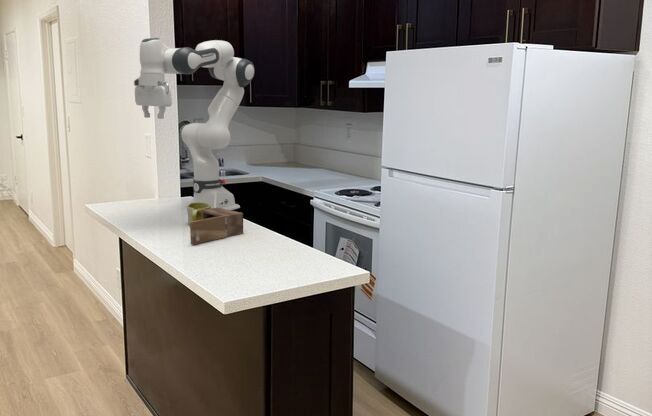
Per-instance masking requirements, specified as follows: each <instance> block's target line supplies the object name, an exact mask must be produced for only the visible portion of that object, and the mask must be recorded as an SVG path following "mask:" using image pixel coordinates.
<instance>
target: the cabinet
mask: <svg viewBox="0 0 652 416" xmlns="http://www.w3.org/2000/svg"><path fill="white" fill-rule="evenodd" d="M218 216H226V217H227V224H226V229H227V236H226V237H225V238H230V237H234V236H239V235H242V234H244V213H243V212H241V211H240V212H239V211H236V210H227V209H223V208H212V209H206V210H202V220H203V219H208V218H213V217H218Z"/></svg>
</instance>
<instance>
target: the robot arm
mask: <svg viewBox="0 0 652 416" xmlns="http://www.w3.org/2000/svg"><path fill="white" fill-rule="evenodd" d="M139 64H140V72H139V73H140V75H139V76H138V77H137V78H136V79H135V80H133V85H134V103H135V104H136V106H141V111H143V117H144V118H149V119H150V118H151V113H150V112H149V107H158V110H159V111H158V113H157V119H164V117H165V116H164V114H165V112H166V108H167V107H171V106H172V103H173V102H172V101H173V99H172V91H171V88H170V86H169V84H168V82H167V81H165V74H168V75H171V74H173V75H174V74H175V75H176V74H177V75H180V74H181V75H182V74H183V75H191V74H192V75H193V74H194V73H195V72H196V71H197V70H198V69H200V68H205V69H206V68H208V72H209V74H210V76H211V77H212V78H213V79H216V80H218V81H223V84H222V87H221V88H220V89H219V90H218V91H217V93H216V95H215V96H214V98H213V99H212V101H211V103H210V104H209V106H208V108H207V114H208V115H209V117H208V120H207V121H206V122H205V123H203V122H192V123H187V124H186V125H184V126H183V128H182V130H181V134H180V135H181V140H182V141H183V143H184V144H185V145H186V146H187V148H188V150H189V153H190V155H191V158H192V165H193V180H192V181H193V182H192V184H193V185H192V189H193V201H192V203H195V202H203V203H208V204H209V205H210V206H211V209H212V208H223V209H227V210H232V211H235V210H238V209H240V208H241V206H240V205H239V204H238V203H236V201H235V200H236V199H235V196H234V194H233V193H232V192H230V191H229V190H228V189H226V188H225V187H224V186H223V185H227V183H228V181H227V179H225V178H224V179H221V178H220V163H219V160H218V159H217V158H216V157H215V155H214V154H213V151H212V150H219V149H220V150H221V149H224V148H226V147H228V145H229V144H230V141H231V132H230V130H229V125H230V122H231V121H232V118H233V116H234V114H235V113H236V111H237V109H238V108H239V106H240V104H241V102H242V100H243V97H244V94H245V89H244V88H245V87H247V86H248V85H249V84H250V83H251V82H252V80H253V78H254V77H255V72H256V71H255V65H254V64H253V62H252V61H251V60H248V59H246V58H241V57H235V50H234V48H233V46H232V44H231V43H230V42H228V41H225V40H222V39H221V40H220V39H219V40H218V39H214V40H207V41H203V42H200V43H198V44H197V45H196V47H195V49H193V48H191V47H178V48H177V47H174V48H170V47H169V46H167V45H166V44H165V43H164V42H163V41H162V38H160V37H151V38H144V39H142V40H141V41H140V44H139Z"/></svg>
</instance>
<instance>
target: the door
mask: <svg viewBox="0 0 652 416" xmlns="http://www.w3.org/2000/svg"><path fill="white" fill-rule="evenodd" d="M226 224H227V217H226V216H218V217H213V218H208V219H203V220H197V221H192V222H190V225H189V226H190V227H189V230H190V231H189V234H190V245H196V244H202V243H205V242H206V243H207V242H210V241H216V240H219V239H223V238H227V237H226V236H227V229H226Z"/></svg>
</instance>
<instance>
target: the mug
mask: <svg viewBox="0 0 652 416" xmlns="http://www.w3.org/2000/svg"><path fill="white" fill-rule="evenodd" d="M206 209H211V206H210V205H209V204H208V203H203V202H195V203H193V202H192V203H189V204H188V205H187V206H186V211H187V222H188V225H189V226H190V222H192V221H197V220H202V210H206Z"/></svg>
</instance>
